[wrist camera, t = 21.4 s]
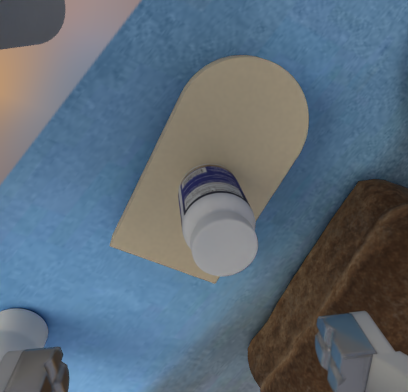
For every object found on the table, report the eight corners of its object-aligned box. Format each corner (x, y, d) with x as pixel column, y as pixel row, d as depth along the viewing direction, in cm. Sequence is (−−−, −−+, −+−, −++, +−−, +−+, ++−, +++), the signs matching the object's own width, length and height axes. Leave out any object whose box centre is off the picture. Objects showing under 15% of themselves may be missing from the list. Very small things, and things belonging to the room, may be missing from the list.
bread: (235, 354, 50) (263, 483, 36) (363, 159, 39) (478, 234, 25) (319, 374, 54) (374, 498, 40) (457, 202, 43) (604, 289, 28)
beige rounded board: (209, 257, 42) (215, 284, 38) (115, 221, 39) (109, 246, 35) (313, 89, 35) (335, 99, 30) (208, 27, 32) (215, 27, 27)
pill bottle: (231, 219, 35) (254, 286, 26) (173, 213, 34) (177, 280, 25) (244, 165, 32) (275, 218, 23) (182, 157, 31) (190, 208, 22)
